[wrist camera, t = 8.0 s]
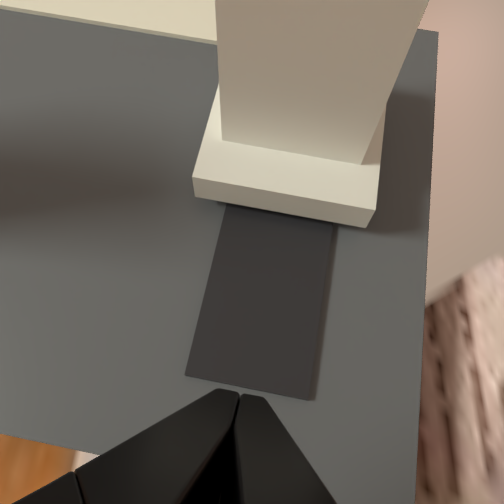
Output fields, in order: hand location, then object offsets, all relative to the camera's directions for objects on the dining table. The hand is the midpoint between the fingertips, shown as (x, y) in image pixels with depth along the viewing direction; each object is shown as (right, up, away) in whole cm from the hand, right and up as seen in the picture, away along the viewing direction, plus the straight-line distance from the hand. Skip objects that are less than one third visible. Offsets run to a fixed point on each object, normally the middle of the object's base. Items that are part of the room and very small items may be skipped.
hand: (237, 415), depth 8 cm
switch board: (-7, +6, +10) cm, 13 cm away
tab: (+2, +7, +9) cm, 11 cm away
